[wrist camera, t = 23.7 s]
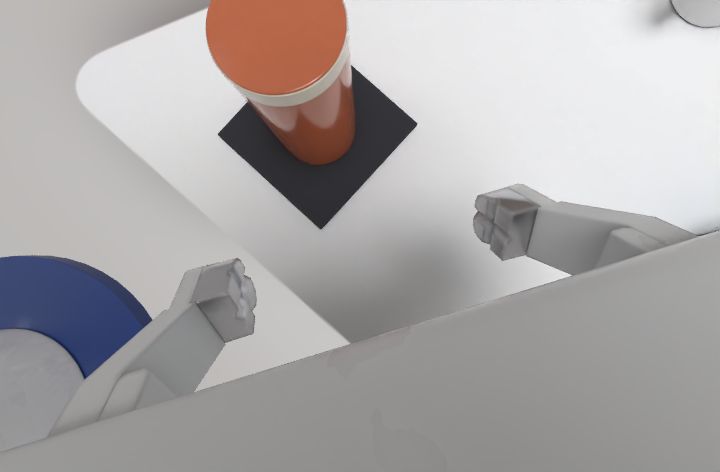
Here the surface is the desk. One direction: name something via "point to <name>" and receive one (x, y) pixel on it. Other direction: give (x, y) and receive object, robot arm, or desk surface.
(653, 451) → the robot arm
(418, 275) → the desk surface
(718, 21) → the mug
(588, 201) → the desk surface
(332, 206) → the mat
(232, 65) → the canister
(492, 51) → the desk surface
